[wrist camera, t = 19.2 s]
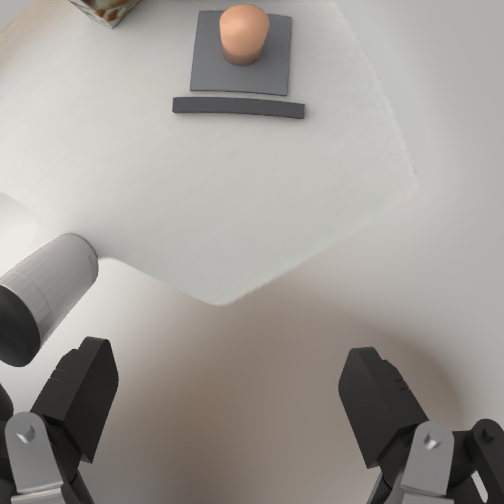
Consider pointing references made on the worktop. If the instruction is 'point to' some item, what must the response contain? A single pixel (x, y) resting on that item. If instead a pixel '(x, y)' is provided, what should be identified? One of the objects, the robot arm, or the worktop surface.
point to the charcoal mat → (241, 77)
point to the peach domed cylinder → (243, 33)
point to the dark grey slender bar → (237, 106)
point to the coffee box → (105, 10)
